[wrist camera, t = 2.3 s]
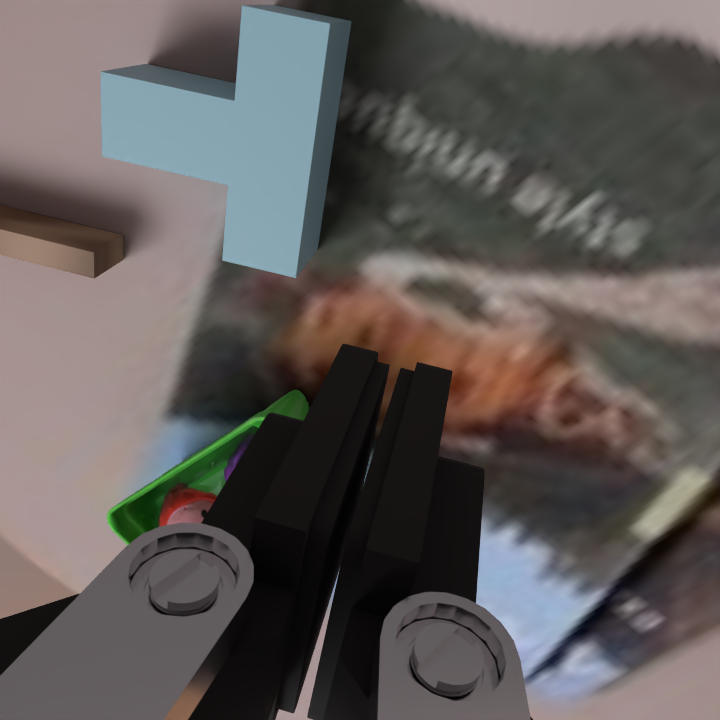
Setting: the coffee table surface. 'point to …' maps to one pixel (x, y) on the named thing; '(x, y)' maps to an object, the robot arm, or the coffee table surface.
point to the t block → (244, 130)
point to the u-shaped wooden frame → (58, 243)
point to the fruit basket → (194, 478)
